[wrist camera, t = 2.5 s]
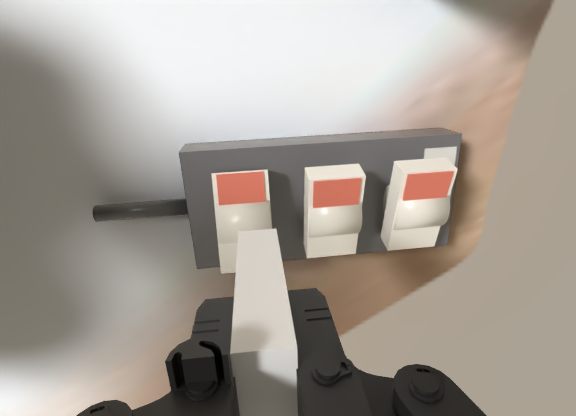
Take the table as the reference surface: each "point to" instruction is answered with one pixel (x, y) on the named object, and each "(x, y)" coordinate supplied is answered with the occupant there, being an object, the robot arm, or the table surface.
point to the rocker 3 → (417, 202)
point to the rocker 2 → (332, 209)
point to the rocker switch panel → (293, 183)
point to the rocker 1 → (239, 210)
